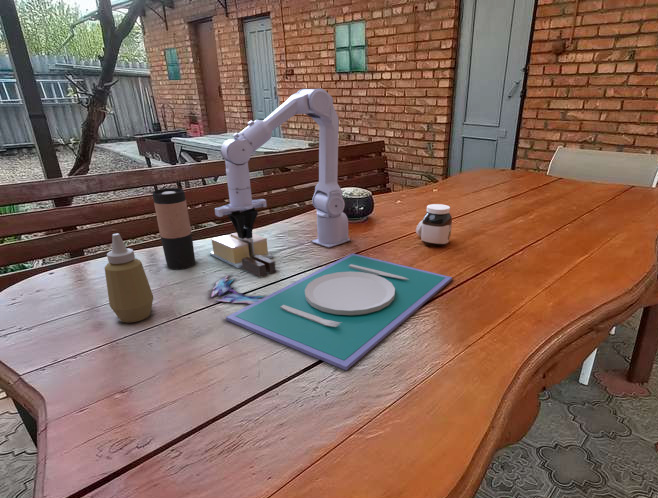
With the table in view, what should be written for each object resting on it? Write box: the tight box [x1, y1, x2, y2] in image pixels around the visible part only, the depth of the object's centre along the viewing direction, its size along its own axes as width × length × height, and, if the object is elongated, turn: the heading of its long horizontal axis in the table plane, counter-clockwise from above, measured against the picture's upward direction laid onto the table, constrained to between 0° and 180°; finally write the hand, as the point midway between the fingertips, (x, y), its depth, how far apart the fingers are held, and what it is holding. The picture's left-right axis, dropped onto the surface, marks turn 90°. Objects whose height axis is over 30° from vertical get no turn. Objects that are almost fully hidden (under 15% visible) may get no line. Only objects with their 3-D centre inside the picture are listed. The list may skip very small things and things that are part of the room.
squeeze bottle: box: [104, 232, 154, 324], centre depth 85 cm, size 8×8×18 cm
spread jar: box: [415, 203, 453, 248], centre depth 130 cm, size 12×11×12 cm
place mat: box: [225, 252, 453, 371], centre depth 96 cm, size 45×30×2 cm
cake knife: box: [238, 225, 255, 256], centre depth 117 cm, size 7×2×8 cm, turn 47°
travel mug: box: [151, 187, 196, 270], centre depth 111 cm, size 8×8×20 cm
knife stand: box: [242, 254, 277, 278], centre depth 111 cm, size 5×8×3 cm, turn 47°
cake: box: [209, 231, 274, 269], centre depth 120 cm, size 11×15×5 cm
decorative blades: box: [211, 274, 264, 305], centre depth 99 cm, size 20×1×10 cm
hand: (245, 236), depth 116 cm, fingers closed on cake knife, 2 cm apart
